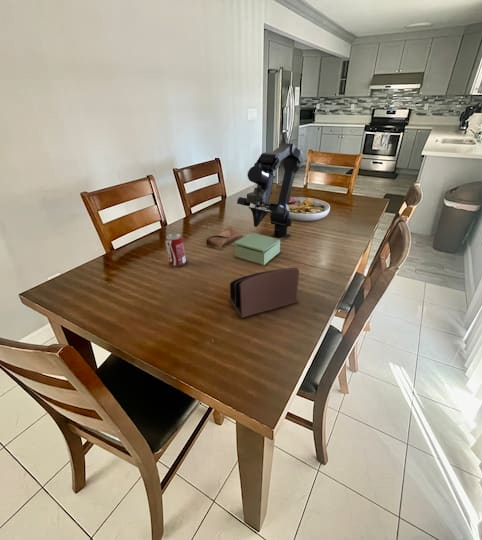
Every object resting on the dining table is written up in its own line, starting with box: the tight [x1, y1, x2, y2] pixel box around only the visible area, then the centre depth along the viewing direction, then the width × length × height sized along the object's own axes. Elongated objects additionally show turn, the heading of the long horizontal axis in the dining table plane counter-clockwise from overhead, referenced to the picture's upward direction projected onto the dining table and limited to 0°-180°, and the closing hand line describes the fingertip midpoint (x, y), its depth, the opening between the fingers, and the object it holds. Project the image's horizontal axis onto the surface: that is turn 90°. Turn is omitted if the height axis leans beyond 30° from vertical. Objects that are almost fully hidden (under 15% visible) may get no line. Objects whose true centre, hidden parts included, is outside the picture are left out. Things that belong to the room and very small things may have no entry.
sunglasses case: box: [205, 226, 243, 249], centre depth 138 cm, size 18×7×7 cm
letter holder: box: [229, 267, 300, 319], centre depth 93 cm, size 10×20×14 cm, turn 114°
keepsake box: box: [234, 241, 281, 266], centre depth 124 cm, size 13×14×6 cm
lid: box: [233, 232, 281, 252], centre depth 122 cm, size 14×14×1 cm
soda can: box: [165, 233, 187, 267], centre depth 117 cm, size 7×7×12 cm
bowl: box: [288, 195, 331, 222], centre depth 167 cm, size 30×30×8 cm
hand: (255, 226), depth 117 cm, fingers closed
